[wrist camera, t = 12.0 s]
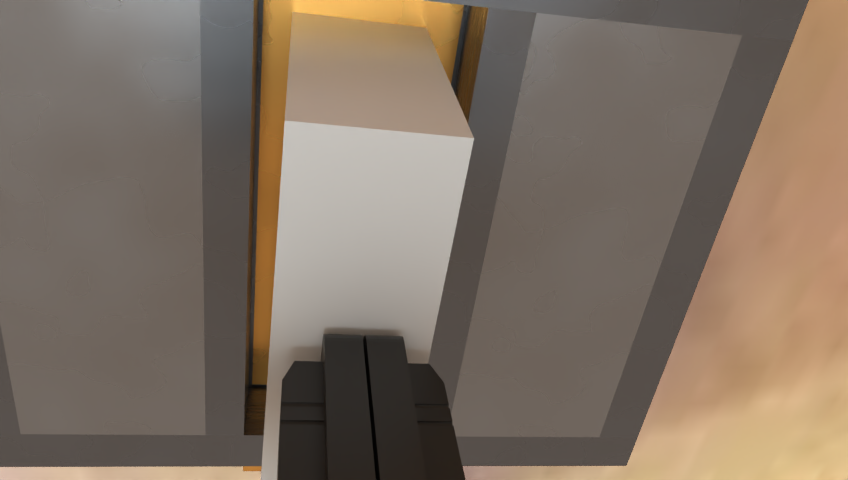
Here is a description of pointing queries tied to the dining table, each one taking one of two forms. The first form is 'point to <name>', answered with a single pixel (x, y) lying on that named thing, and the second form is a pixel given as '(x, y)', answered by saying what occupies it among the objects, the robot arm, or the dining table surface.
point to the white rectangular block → (362, 194)
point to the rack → (259, 206)
